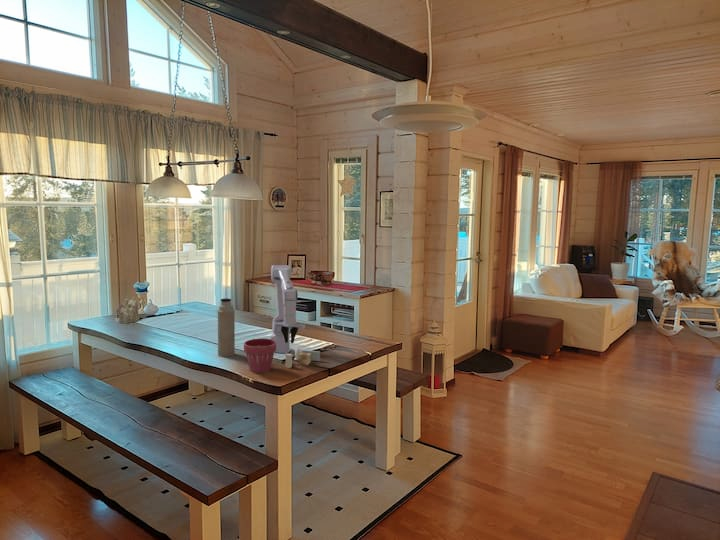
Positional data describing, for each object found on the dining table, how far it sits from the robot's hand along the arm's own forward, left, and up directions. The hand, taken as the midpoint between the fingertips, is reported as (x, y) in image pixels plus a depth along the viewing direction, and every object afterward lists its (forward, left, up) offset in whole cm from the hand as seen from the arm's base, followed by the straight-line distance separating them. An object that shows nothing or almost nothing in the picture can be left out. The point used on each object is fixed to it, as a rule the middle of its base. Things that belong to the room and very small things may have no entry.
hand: (289, 342), depth 235 cm
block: (+8, 0, -10) cm, 12 cm away
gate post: (+3, +5, -9) cm, 11 cm away
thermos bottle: (-33, +2, -10) cm, 35 cm away
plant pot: (-8, -15, -10) cm, 20 cm away
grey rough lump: (-127, +52, -10) cm, 137 cm away
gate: (+9, +5, -9) cm, 14 cm away
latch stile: (+2, -5, -9) cm, 11 cm away
